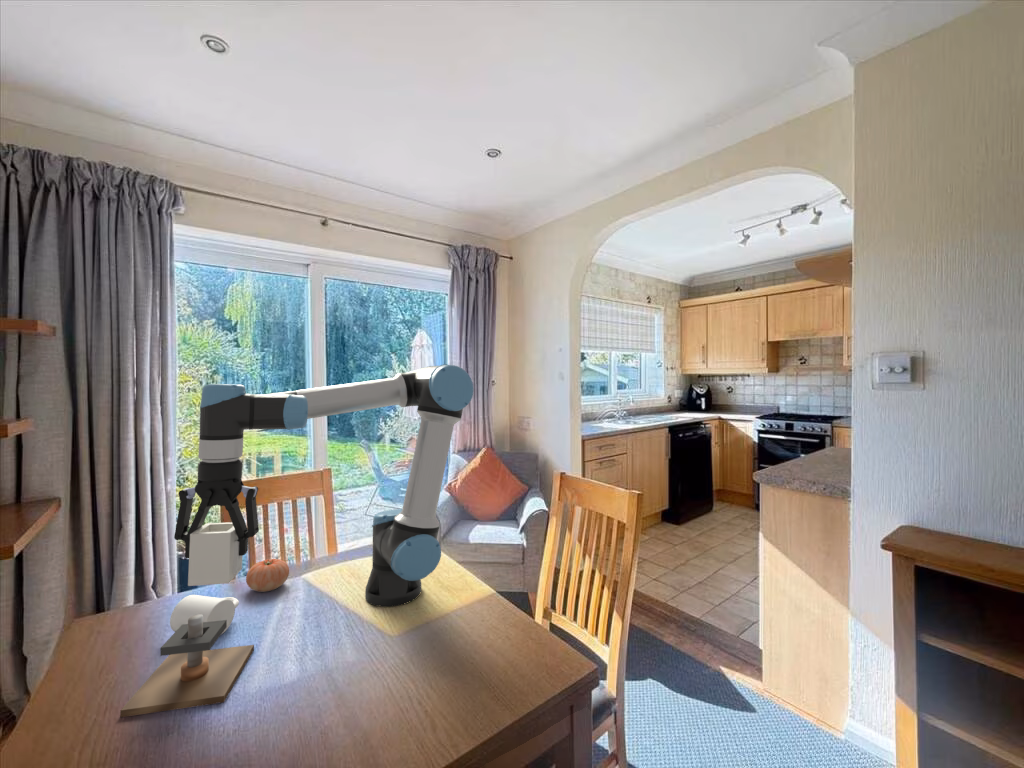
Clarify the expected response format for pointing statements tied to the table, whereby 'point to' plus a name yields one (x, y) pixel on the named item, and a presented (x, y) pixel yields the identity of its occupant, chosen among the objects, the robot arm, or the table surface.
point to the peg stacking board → (190, 677)
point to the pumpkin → (267, 575)
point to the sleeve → (212, 554)
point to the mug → (203, 610)
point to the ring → (193, 639)
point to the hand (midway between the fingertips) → (216, 572)
